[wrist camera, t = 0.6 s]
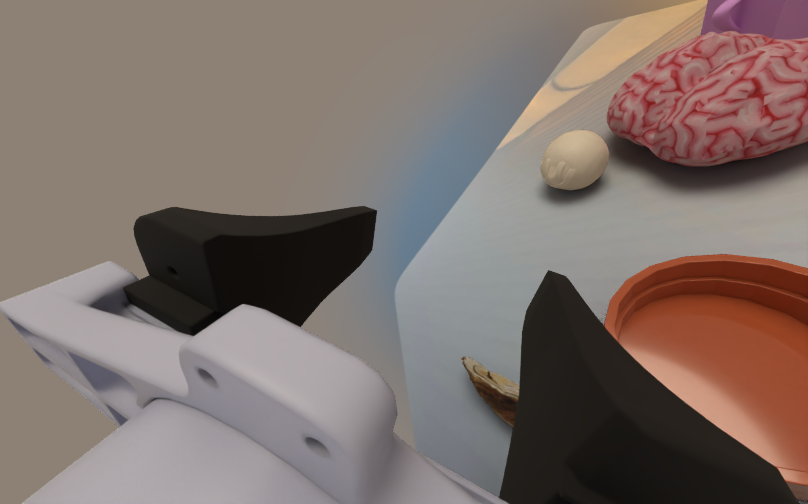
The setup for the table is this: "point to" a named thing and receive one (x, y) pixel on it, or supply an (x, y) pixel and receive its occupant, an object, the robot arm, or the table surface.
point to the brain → (717, 99)
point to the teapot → (758, 18)
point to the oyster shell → (494, 389)
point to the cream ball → (574, 160)
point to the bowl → (727, 347)
